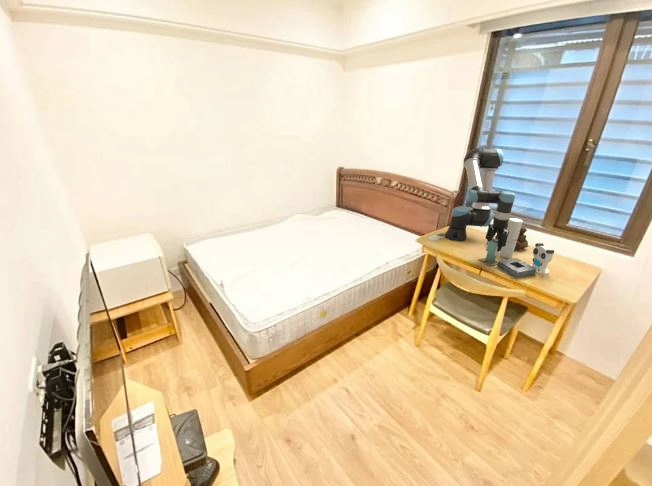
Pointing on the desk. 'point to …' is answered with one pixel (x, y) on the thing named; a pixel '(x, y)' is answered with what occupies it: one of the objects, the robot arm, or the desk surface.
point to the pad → (488, 263)
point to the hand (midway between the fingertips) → (492, 252)
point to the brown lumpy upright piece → (519, 239)
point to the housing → (516, 268)
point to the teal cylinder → (491, 251)
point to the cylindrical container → (511, 237)
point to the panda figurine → (542, 258)
